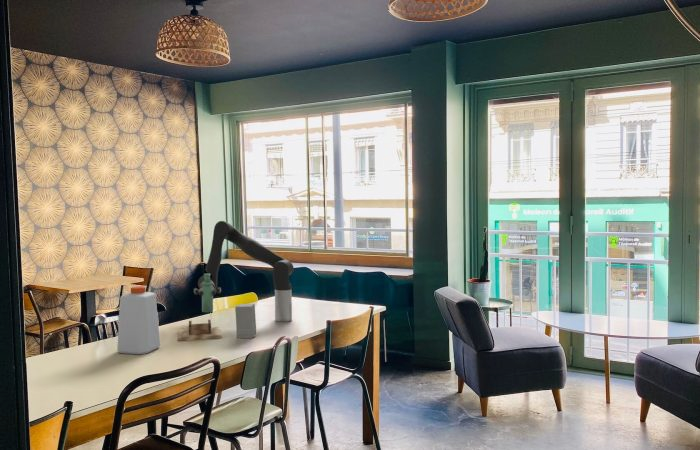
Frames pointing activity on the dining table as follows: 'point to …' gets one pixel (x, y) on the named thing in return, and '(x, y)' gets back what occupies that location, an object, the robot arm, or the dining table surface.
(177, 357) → the dining table surface
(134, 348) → the plastic bottle
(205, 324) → the u rest
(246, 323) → the skincare box
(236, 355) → the dining table surface
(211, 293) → the bottle
